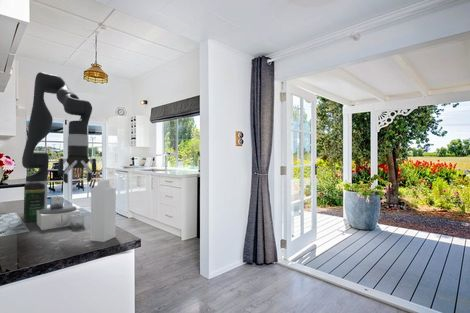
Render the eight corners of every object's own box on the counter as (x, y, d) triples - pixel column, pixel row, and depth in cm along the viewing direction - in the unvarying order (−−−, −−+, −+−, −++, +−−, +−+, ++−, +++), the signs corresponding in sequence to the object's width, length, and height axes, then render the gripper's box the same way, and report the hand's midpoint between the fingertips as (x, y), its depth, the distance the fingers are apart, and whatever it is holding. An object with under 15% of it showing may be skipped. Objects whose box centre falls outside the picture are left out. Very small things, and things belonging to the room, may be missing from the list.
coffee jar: (45, 221, 122) (45, 181, 122) (23, 223, 117) (24, 182, 117) (44, 217, 130) (44, 180, 130) (23, 219, 125) (24, 181, 125)
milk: (90, 240, 95) (90, 180, 95) (102, 235, 101) (102, 179, 101) (104, 242, 94) (104, 181, 94) (115, 237, 100) (115, 179, 100)
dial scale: (36, 223, 118) (36, 208, 118) (72, 218, 128) (72, 204, 128) (41, 230, 107) (42, 213, 107) (80, 224, 117) (80, 209, 117)
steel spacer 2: (69, 227, 113) (69, 215, 113) (82, 225, 117) (82, 213, 117) (72, 229, 109) (72, 217, 109) (85, 227, 113) (85, 215, 113)
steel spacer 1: (49, 207, 120) (49, 196, 120) (62, 206, 124) (62, 195, 124) (51, 209, 117) (51, 198, 117) (64, 207, 120) (64, 196, 120)
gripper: (93, 145, 121) (93, 180, 121) (56, 144, 111) (56, 182, 111) (98, 145, 115) (98, 181, 115) (60, 144, 105) (60, 184, 105)
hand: (77, 182), depth 113 cm, fingers open, 8 cm apart
